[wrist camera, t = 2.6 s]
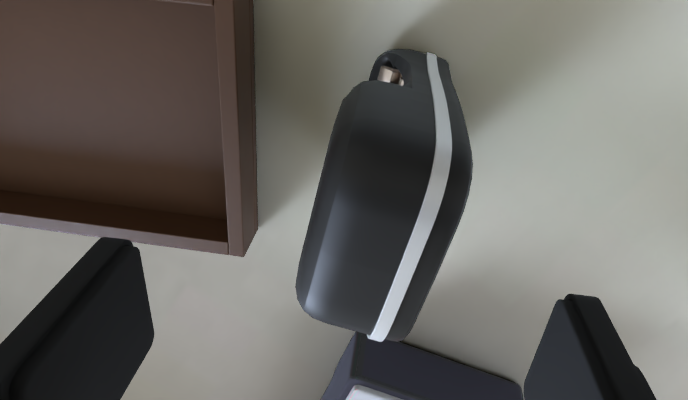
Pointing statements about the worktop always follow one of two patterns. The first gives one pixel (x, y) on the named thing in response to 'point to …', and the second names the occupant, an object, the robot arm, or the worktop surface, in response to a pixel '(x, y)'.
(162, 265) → the worktop surface
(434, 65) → the battery charger
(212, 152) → the tray
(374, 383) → the calculator
